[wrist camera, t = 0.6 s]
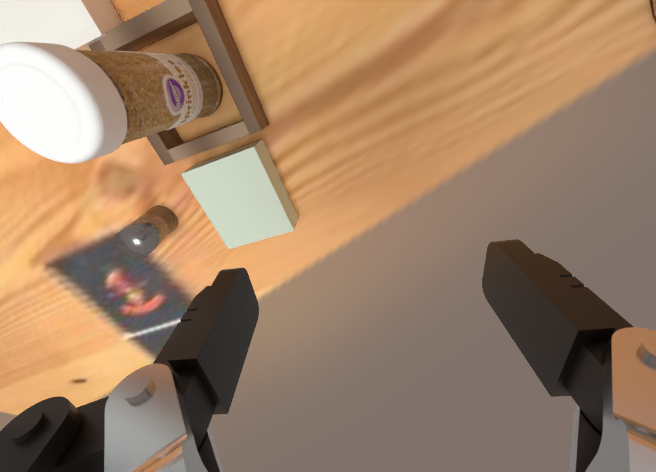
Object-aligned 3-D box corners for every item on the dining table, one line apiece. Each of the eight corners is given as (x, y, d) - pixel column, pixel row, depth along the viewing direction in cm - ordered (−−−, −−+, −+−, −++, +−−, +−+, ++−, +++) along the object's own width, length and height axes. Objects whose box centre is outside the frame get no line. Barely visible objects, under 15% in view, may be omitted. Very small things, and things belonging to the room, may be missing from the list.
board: (263, 138, 25) (253, 146, 22) (298, 215, 29) (294, 230, 26) (197, 163, 27) (180, 174, 24) (238, 233, 30) (228, 249, 28)
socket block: (213, -8, 20) (197, -16, 17) (268, 123, 24) (261, 130, 22) (112, 44, 22) (86, 42, 19) (179, 156, 26) (164, 165, 24)
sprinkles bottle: (232, 108, 23) (121, 152, 12) (184, 122, 24) (37, 176, 13) (206, 44, 21) (40, 22, 10) (154, 61, 22) (-56, 61, 11)
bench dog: (166, 202, 28) (134, 227, 24) (183, 227, 30) (156, 255, 26) (142, 210, 29) (107, 235, 25) (160, 234, 30) (129, 262, 26)
